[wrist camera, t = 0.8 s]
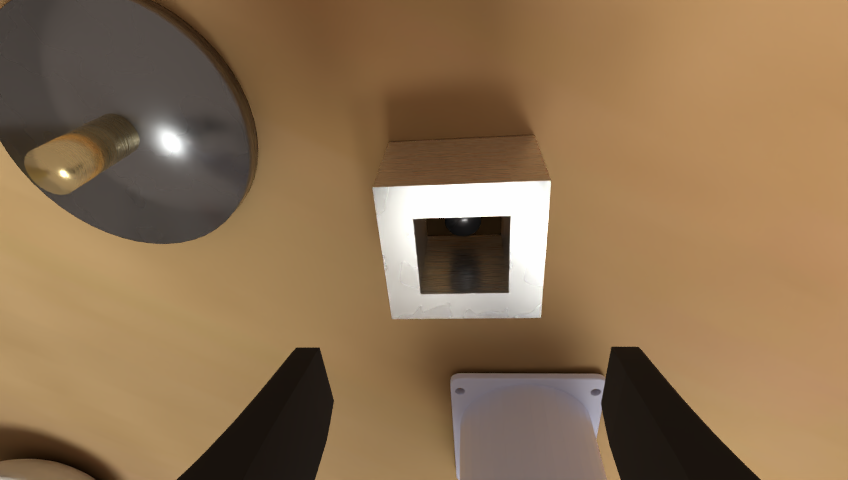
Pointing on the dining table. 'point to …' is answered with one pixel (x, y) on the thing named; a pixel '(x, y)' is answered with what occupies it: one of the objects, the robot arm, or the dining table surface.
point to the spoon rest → (39, 470)
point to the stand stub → (463, 225)
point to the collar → (463, 255)
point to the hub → (124, 117)
